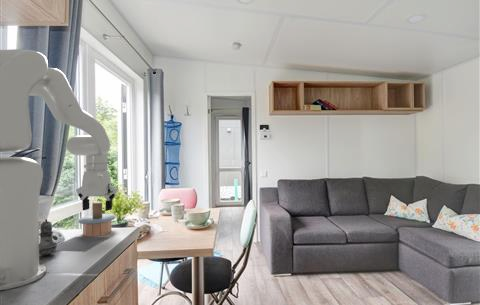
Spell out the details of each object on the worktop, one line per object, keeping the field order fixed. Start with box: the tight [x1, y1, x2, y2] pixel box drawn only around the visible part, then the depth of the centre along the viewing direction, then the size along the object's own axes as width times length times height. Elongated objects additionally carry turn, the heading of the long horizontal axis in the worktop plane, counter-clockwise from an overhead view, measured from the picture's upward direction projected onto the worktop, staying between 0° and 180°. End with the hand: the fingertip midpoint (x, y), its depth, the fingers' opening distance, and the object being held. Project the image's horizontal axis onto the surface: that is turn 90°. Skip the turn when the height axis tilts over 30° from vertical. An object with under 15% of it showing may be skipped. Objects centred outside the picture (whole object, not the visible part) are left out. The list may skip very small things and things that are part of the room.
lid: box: [78, 201, 116, 225], centre depth 107 cm, size 13×13×7 cm
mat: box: [54, 236, 111, 253], centre depth 94 cm, size 14×14×1 cm
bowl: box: [82, 221, 112, 237], centre depth 107 cm, size 10×10×6 cm
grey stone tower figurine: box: [39, 218, 59, 259], centre depth 83 cm, size 6×6×12 cm
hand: (97, 209), depth 107 cm, fingers open, 9 cm apart
